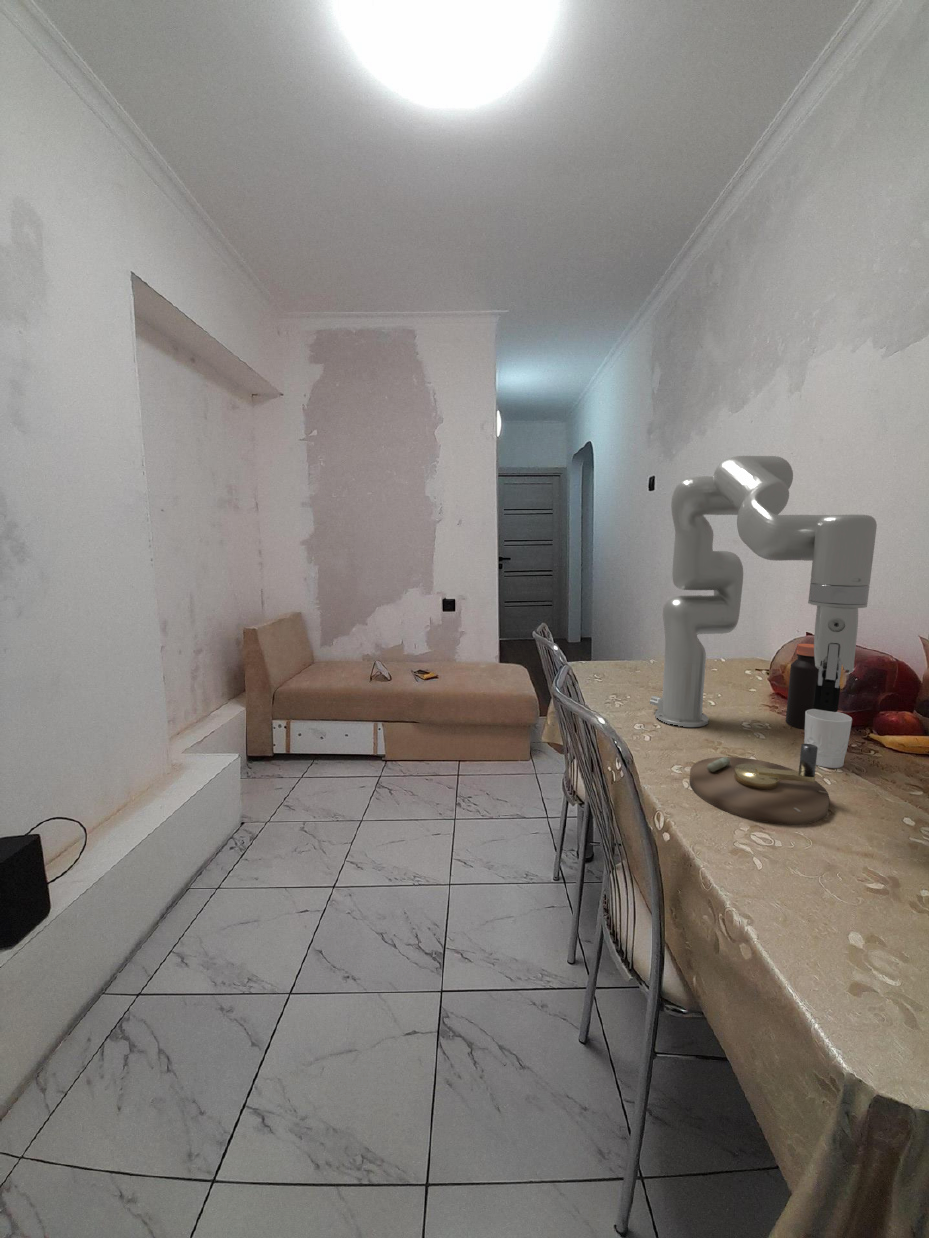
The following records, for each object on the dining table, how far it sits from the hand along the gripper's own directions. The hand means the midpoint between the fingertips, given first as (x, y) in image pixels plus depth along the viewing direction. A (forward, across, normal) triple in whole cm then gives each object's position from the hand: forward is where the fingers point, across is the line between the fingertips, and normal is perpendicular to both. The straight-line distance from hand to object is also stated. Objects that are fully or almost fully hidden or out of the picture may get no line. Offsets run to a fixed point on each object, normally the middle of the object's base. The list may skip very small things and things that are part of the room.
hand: (825, 709), depth 85 cm
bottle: (+19, +50, +2) cm, 53 cm away
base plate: (+19, +4, +9) cm, 21 cm away
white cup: (+19, +27, -2) cm, 33 cm away
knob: (+16, +5, +6) cm, 18 cm away
